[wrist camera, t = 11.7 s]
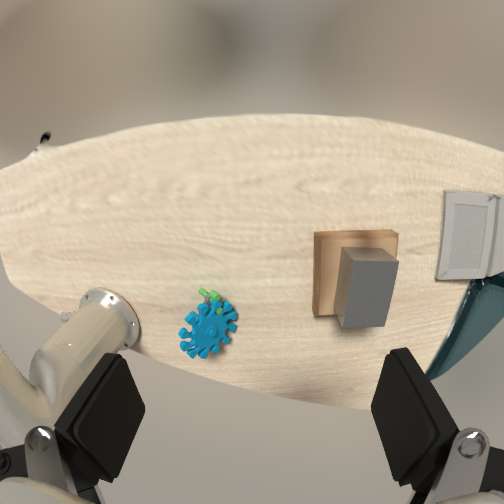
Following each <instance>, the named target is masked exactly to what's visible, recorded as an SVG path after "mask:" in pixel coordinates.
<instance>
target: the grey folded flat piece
mask: <svg viewBox="0 0 504 504" xmlns="http://www.w3.org/2000/svg"><path fill="white" fill-rule="evenodd" d="M503 271H504V195H495V194H494V195H493V194H486V193H477V192H468V191H458V190H445V189H443V199H442V218H441V230H440V241H439V249H438V257H437V264H436V271H435V277H434V279H437V280H446V279H479V278H485V277H487V276H488V277H490V276H493V275H495V274H498V273H500V272H503Z"/></svg>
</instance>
